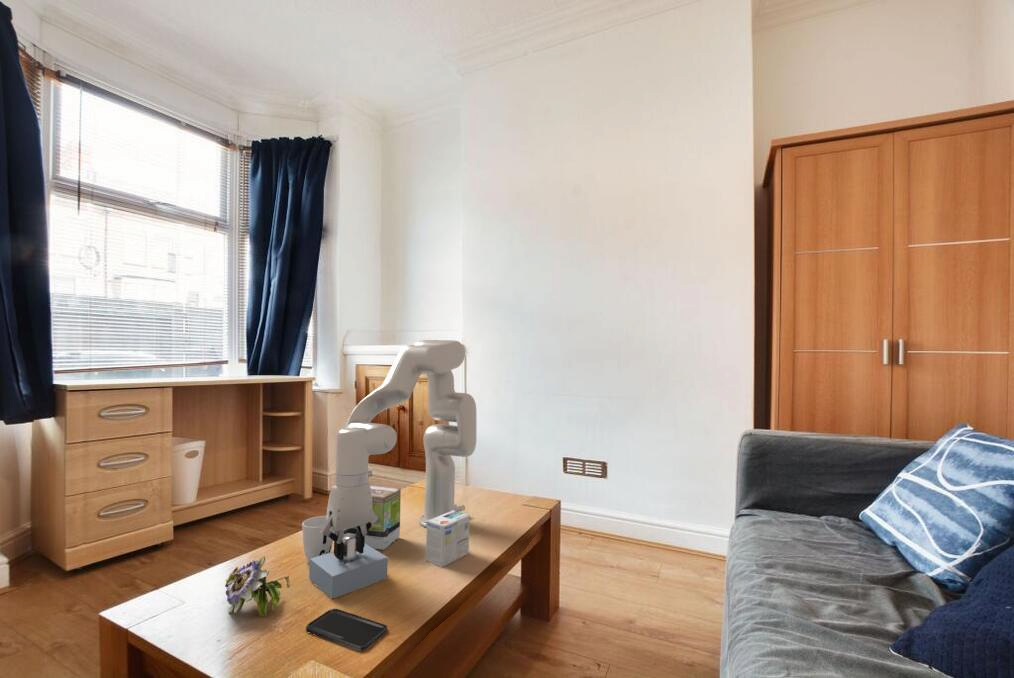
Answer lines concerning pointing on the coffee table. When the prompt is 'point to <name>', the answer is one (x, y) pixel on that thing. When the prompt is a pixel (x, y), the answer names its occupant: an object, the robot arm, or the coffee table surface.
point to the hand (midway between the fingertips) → (349, 554)
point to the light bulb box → (447, 538)
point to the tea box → (382, 518)
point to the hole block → (347, 571)
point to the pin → (349, 548)
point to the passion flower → (252, 587)
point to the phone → (347, 629)
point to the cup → (315, 537)
